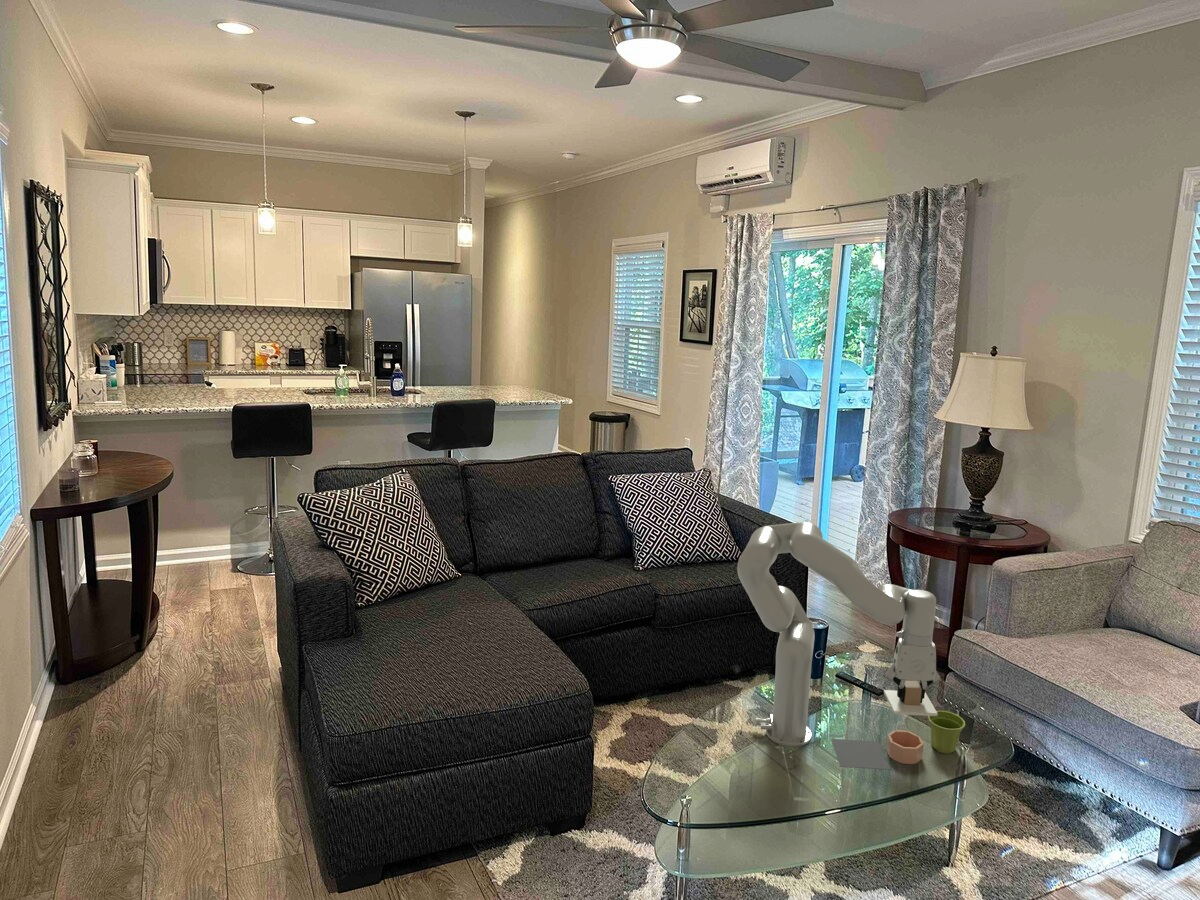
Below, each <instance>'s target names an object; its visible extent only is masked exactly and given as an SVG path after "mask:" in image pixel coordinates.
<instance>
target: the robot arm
mask: <svg viewBox="0 0 1200 900" xmlns="http://www.w3.org/2000/svg"><path fill="white" fill-rule="evenodd" d="M788 553H790V554H791V556H792V557H793V558H794V559H796V561H798V562H800V563H801V564H803V565H804V566H805V567H808V568H809V569H810V570H812V571H813V572H815V573H816V574H818V575H819V576H821V577H822V578H824V579H825V580H826V581H828V582H830V583H832V584H833V585H834V586H835V588H837V589H838V591H839V592H840V593H841V594H843V595H844V596H845V597H846V598H847V599H848V600H849V601H850V602H851V603H852V604H853V605H854V606H855V607H857V608H858V609H859V610H860V611H861V612H863V613H864V614H866V615H867V616H869V617H870V618H872V619H873V620H875V621H877V622H878V623H881V624H884V625H886V626H894V625H898V624H900V623H901V621H903V622H902V628H901V630H899V631H896V634H895V635H896V637H897V638H898V641H897V643H896V644H897V645H896V647H895V651H894V654H893V661H892V665H890V667H889V668H888V669H887V670H886V672H885V676H886V677H887V678H888V679H890V680H892V681H893V682H894V684H896V685H897V690H896V691H897V696H898V697H899V698H900V700H901V702H904V698H905V688H904V685H905V682H906V681H918V683H919V685H920V686H921V688H922V692H921V701H920V703H922V699H924V696H925V693H926V690H927V689H928V687H930V686H931V685H932V684H934V683H935V682H937V681H939V680H940V679H941V676H940V674H939V673H938V671H937V652H936V651H937V650H936V649H937V648H936V644H935V643H934V642H933V635H934V627H935V626H934V625H935V619H936V609H937V597H936V596H935V595H934V593H932V592H930V591H928V590H924V589H910V588H907V587H903V586H900V585H897V584H892V583H891V584H890V583H884V584H882V585H880V586H878V587H877V586H876V585H875V584H874V583H872V582H871V581H870V580H869V579H868V578H867V577H866V576H865V574H864V573H863V571H862V570H861V568H860V567H859V565H858V564H857V562H856V561H855V559H853V557H851V556H850V555H849V554H847V553H845V552H844V551H842V550H840V549H839V548H838V547H836V546H834V545H833V544H832V543H830V542H828V541H827V540H825V539H824V537H823V532H822V530H821V529H820V528H819V527H818V526H817V524H814V523H811V522H807V521H806V522H803V521H800V522H792V523H791V522H790V523H789V522H788V523H783V524H772V525H771V524H770V525H764V526H761V527H759V528H757V529H755V530H754V531H753V533H752V534H751V536H750V538H749V541H748V542H747V544H746V546H745V548H744V550H743V551H742V553H741V554H740V556H739V559H738V562H737V567H736V570H737V571H736V572H737V575H738V576H737V577H738V579H739V581H740V583H741V585H742V587H743V589H744V590H745V592H746V594H747V595H748V597H749V599H750V601H751V603H752V606H753V607H754V609H755V611H756V612H757V614H758V617H759V618H760V620H761V622H762V623H763V625H764V626H765V628H767V629H768V630H770V631H772V632H776V633H779V636H778V641H777V645H776V648H775V649H776V651H775V673H774V674H775V675H774V676H775V677H774V690H773V702H772V703H773V705H772V713H771V714H770V716H769V717H766V718H759V717H756V718H755V720H754V723H755V726H760V730H765V733H766V736H767V738H768V739H770V740H771V741H772V742H774V744H777V745H780V746H784V747H785V746H786V747H801V746H805V745H808V744H809V743H810V742H811V741H812V735H813V734H812V731H811V729H810V728H809V727H808V717H809V716H808V715H809V704H810V703H809V702H810V689H811V675H812V664H813V662H812V661H813V656H814V655H813V654H814V646H815V638H816V637H815V635H816V634H815V629H814V627H813V625H812V623H811V621H810V619H809V617H808V616H807V613H806V611H805V610H804V608H803V606H802V604H801V603H800V601H799V600H798V598H797V596H796V594H795V593H794V592H793V591H792V590H791V589H790V588H789V587H786V586H783V585H778V582H777V581H776V579H775V578H774V576H773V575H772V574H771V573H770V568H771V566H772V565H773V564H774V563H775V561H776V560H777V557H778V555H780V554H788Z"/></svg>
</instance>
